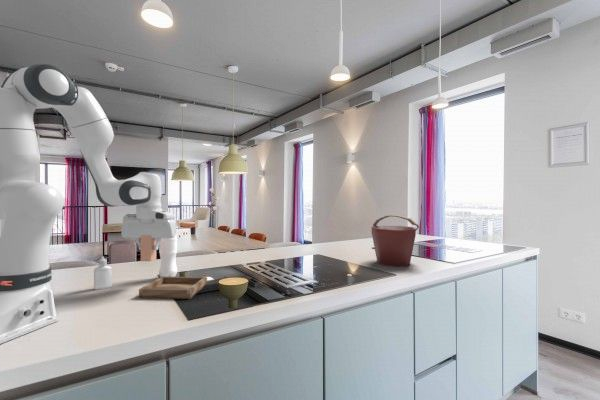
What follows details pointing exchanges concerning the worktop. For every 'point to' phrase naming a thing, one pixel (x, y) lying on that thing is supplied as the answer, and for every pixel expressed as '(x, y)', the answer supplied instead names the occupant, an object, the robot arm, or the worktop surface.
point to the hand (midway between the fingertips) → (148, 249)
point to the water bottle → (168, 257)
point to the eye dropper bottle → (102, 275)
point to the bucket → (394, 243)
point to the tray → (173, 287)
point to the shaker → (147, 248)
